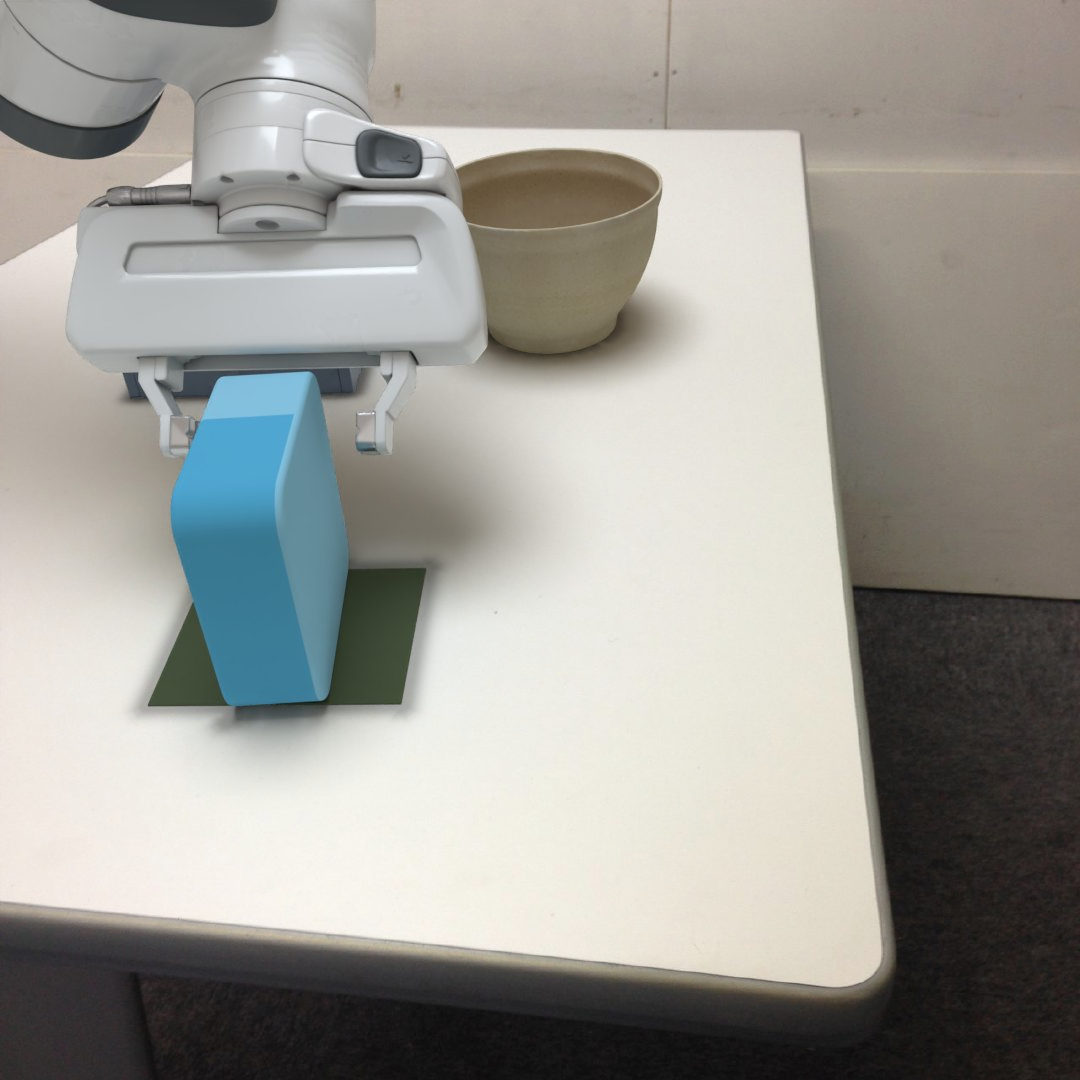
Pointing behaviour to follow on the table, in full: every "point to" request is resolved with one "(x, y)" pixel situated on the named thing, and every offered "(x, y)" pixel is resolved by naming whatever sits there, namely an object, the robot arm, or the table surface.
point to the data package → (264, 538)
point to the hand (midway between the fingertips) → (277, 454)
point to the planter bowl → (559, 241)
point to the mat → (361, 653)
